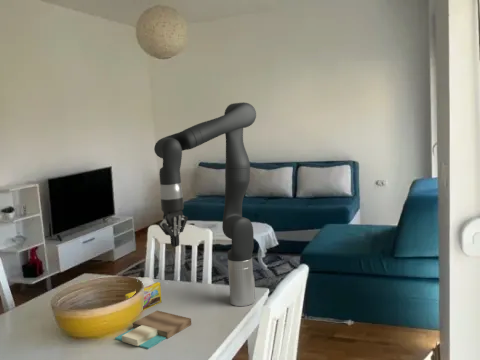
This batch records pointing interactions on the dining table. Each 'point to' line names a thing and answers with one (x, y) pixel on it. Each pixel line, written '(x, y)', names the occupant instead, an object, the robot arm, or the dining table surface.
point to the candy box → (149, 295)
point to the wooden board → (164, 323)
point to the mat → (148, 343)
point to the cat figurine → (146, 281)
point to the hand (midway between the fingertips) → (175, 246)
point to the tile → (139, 335)
